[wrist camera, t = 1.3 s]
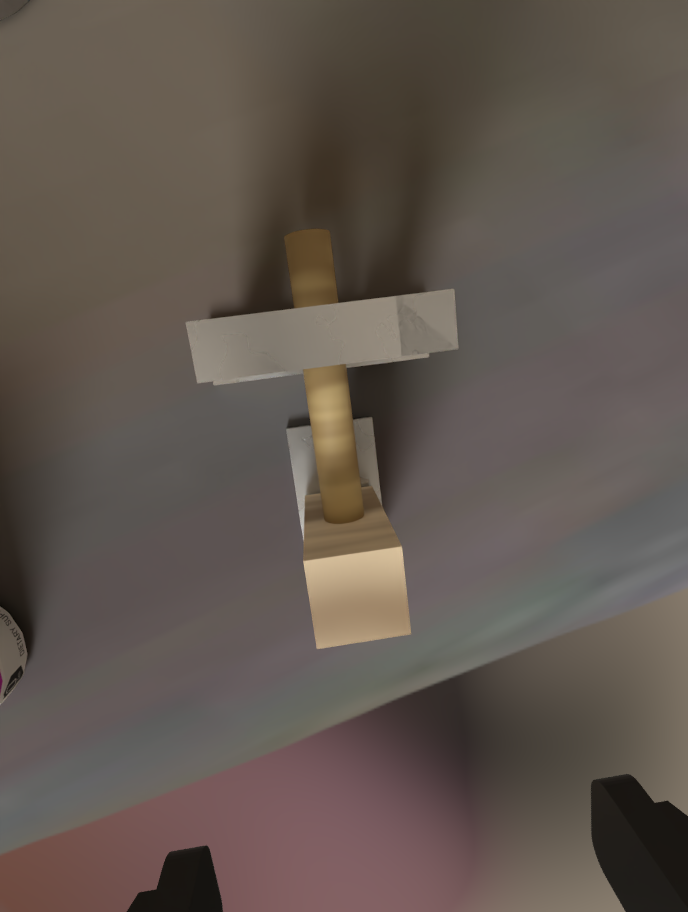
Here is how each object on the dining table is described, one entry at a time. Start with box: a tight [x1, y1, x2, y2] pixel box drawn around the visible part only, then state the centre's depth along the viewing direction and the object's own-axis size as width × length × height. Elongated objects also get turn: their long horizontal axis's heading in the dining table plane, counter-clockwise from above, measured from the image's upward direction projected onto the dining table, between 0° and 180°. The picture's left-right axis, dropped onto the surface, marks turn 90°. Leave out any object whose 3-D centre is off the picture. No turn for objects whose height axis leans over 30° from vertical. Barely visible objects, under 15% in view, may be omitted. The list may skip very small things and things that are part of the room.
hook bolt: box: [284, 229, 411, 649], centre depth 22 cm, size 17×4×9 cm, turn 7°
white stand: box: [186, 289, 458, 541], centre depth 23 cm, size 19×12×11 cm, turn 7°
